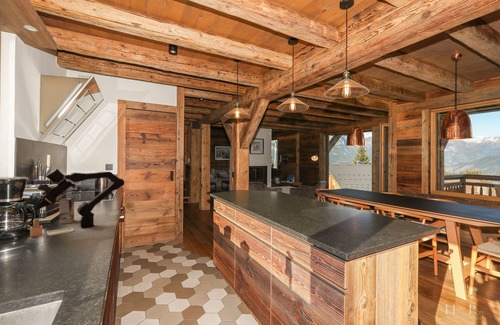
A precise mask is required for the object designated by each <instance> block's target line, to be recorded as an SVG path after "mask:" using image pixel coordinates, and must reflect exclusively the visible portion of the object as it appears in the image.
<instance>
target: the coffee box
mask: <svg viewBox="0 0 500 325" xmlns="http://www.w3.org/2000/svg"><path fill="white" fill-rule="evenodd" d="M58 201H59V207H58V208H59V225H61V224H69V223H73V222H74V221H75V197H68V198H62V199H60V200H58Z"/></svg>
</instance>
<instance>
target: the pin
mask: <svg viewBox="0 0 500 325" xmlns="http://www.w3.org/2000/svg"><path fill="white" fill-rule="evenodd" d="M32 222H33V224H32V227H34V228H38V227H39V226H40V218H34V219H33V221H32Z"/></svg>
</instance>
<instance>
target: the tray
mask: <svg viewBox="0 0 500 325" xmlns="http://www.w3.org/2000/svg"><path fill="white" fill-rule="evenodd" d="M74 232H75V229H74V227H65V228H58V229H53V230H47V231H46V235H47V237H51V236H56V235H62V234H69V233H74Z"/></svg>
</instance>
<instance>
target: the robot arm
mask: <svg viewBox="0 0 500 325" xmlns="http://www.w3.org/2000/svg"><path fill="white" fill-rule="evenodd" d="M45 177H46V178H47V179H48V180H49V181H51V182H52V183H53V184H55V183H56V185H54V186H51V187H50V186H49V184H46V183H40V184H39V185H38V186H37V190H39V191H43V192H41V194H40V198H39V200H38V201H36V203H35V204H34V205H33V206H32V207H33V209H34V210H35V211H37V210H40V209H42V208H45V207H48V206H52V205H53V204H56V202H57V199H58V197H60V195H63V194H64V193H65V192H66V191H68V190H69V189H70V188H72V189H75V188H76V183H78V182H80V183H81V182H83V181H86V180H95V179H106V178H107V179H108V180H109V181H110V183H109V185H108V186H107V187H106V188H105V189H103V190H102V191H101V192H100V193H99V194H97V195H95V196H94V197H93V198H92V199H91V200H89V201H88V202H86V201H83V202H82V203H81V204H80V205H78V207H77V209H76V212H77V213H78V215H80V216H81V218H80V219H79V227H80V228H81V229H86V228H93V227H95V225H94V220H95V218H94V216H95V213H93V212H92V211H93V210H94V208H95V207H96V206H97V205H98V204H99V203H100V202H102V201H103V200H104V199H105V198H106V197H108V196H109V195H110V194H111V193H113V192H114V191H116V190H118V189H120V188H122V187H124V185H125V179H123V178H119V177H118V176H117V175H115V174H114V173H113V172H112V171H103V172H89V173H88V172H87V173H85V172H83V173H82V172H71V173H70V174H63V173H62V172H61V171H60V170H59V169H58V168H56V169H54V170H53V171H50V172H49V173H48V174H46V175H45ZM72 182H73V183H72Z"/></svg>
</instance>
